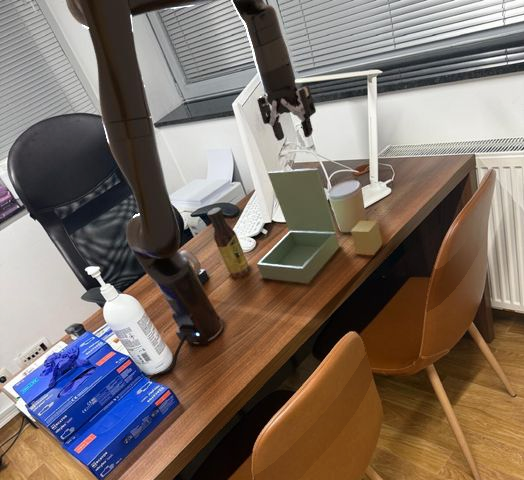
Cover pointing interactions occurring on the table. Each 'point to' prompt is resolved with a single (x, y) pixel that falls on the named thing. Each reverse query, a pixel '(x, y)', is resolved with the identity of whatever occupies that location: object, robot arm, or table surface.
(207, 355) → the table surface
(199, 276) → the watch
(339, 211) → the coffee cup
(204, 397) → the table surface
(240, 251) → the sauce bottle
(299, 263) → the box
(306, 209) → the lid
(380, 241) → the block
